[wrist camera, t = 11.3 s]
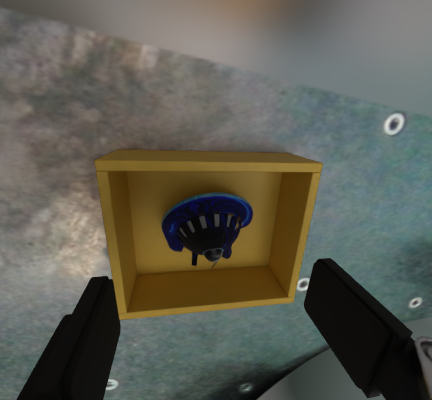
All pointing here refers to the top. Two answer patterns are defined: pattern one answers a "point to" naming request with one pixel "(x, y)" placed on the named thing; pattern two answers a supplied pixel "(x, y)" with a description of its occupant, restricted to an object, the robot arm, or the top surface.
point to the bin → (194, 185)
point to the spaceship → (206, 224)
